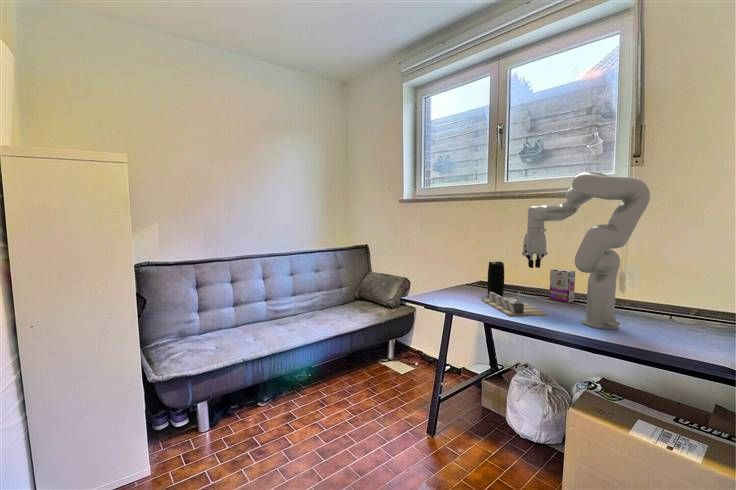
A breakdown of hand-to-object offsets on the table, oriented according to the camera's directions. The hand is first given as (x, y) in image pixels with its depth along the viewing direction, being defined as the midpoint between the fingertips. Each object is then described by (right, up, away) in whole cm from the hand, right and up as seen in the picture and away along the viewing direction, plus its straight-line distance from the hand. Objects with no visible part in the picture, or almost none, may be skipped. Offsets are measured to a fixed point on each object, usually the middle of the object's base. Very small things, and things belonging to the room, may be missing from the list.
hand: (534, 267), depth 172 cm
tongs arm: (-10, -18, -4) cm, 21 cm away
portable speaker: (-12, -18, +19) cm, 29 cm away
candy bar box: (+20, -19, +10) cm, 29 cm away
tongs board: (-13, -20, -3) cm, 23 cm away
